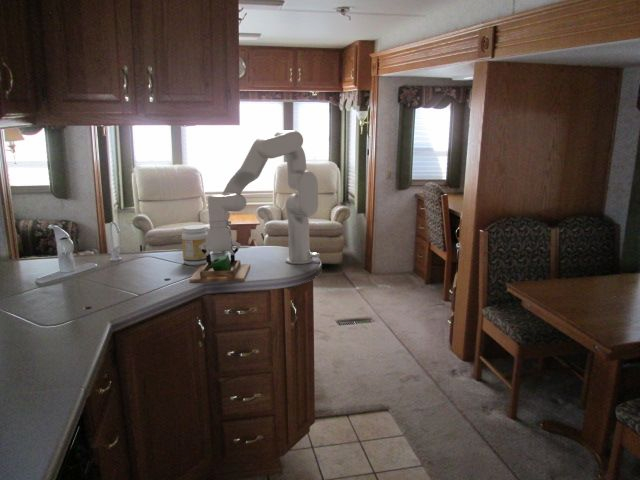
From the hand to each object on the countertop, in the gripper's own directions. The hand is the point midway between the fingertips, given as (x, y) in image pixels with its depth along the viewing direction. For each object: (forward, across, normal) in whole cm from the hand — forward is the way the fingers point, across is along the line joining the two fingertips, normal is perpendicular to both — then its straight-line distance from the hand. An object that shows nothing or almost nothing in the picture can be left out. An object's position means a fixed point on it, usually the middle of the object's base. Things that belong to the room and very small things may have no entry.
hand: (221, 263), depth 209 cm
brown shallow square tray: (+4, 0, 0) cm, 5 cm away
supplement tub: (+5, +15, -21) cm, 26 cm away
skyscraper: (+5, +8, -40) cm, 41 cm away
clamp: (+4, 0, 0) cm, 4 cm away
